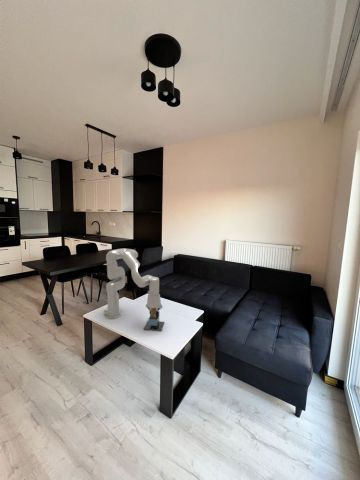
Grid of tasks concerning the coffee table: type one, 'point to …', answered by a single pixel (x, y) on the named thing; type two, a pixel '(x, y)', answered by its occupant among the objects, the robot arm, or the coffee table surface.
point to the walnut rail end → (153, 313)
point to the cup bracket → (154, 324)
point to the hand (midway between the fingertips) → (153, 314)
